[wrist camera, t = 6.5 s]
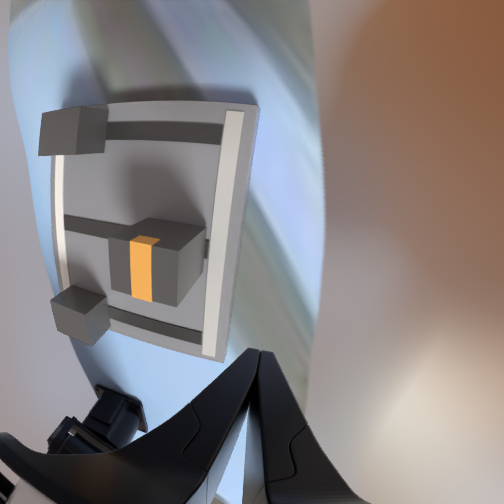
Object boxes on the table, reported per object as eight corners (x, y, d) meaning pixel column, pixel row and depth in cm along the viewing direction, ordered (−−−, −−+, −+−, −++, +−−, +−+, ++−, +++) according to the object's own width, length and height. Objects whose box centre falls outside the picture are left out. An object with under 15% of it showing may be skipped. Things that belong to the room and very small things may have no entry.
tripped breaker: (202, 273, 18) (176, 308, 13) (147, 261, 18) (111, 290, 14) (207, 226, 16) (178, 250, 12) (148, 216, 17) (107, 236, 13)
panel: (226, 353, 21) (213, 391, 17) (71, 305, 23) (44, 327, 19) (259, 109, 15) (249, 93, 11) (65, 111, 16) (28, 109, 12)
